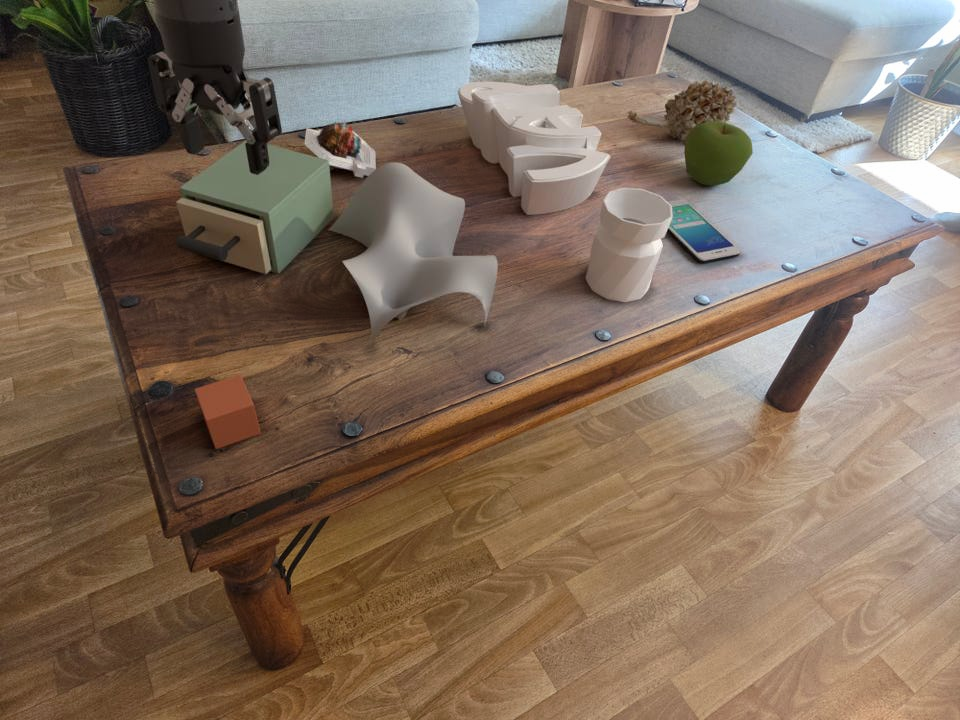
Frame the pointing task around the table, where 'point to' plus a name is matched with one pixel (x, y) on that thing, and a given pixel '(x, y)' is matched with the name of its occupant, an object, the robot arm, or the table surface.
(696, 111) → the dried hydrangea flower
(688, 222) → the smartphone
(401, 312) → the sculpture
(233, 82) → the robot arm
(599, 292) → the vase
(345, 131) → the mineral specimen
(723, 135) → the apple
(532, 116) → the wavy white extrusion
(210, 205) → the drawer
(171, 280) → the table surface
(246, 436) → the block
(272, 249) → the cabinet
